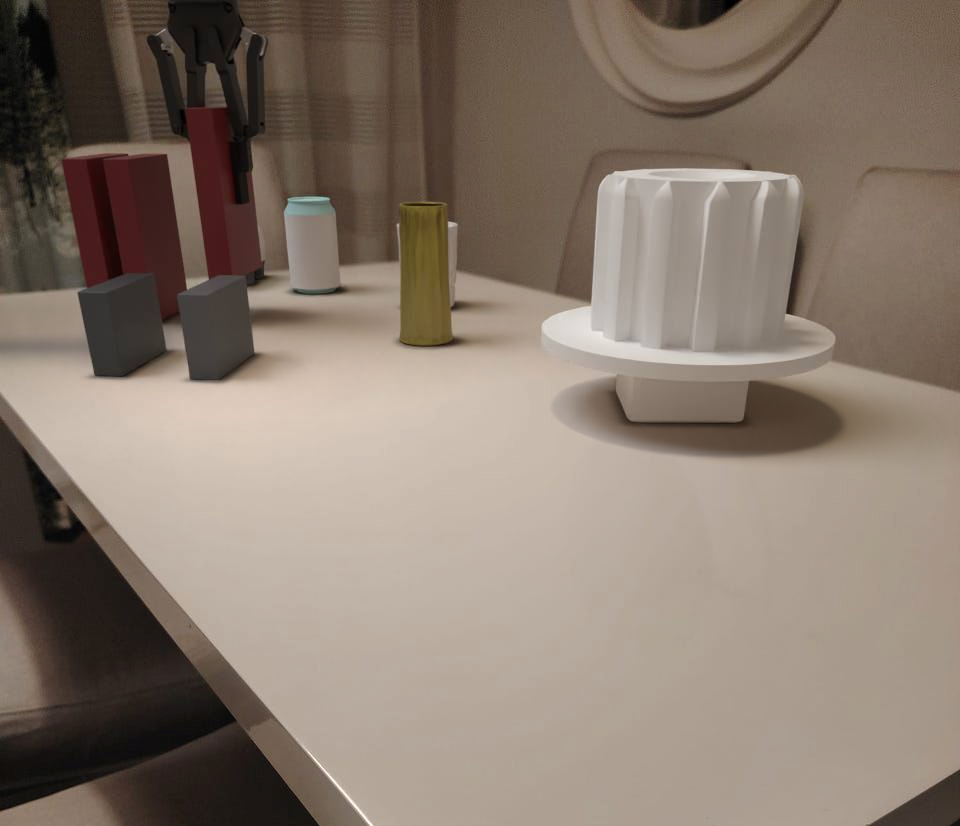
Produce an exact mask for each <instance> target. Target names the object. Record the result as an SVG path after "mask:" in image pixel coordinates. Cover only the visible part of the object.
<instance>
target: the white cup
mask: <svg viewBox="0 0 960 826" xmlns="http://www.w3.org/2000/svg"><path fill="white" fill-rule="evenodd" d="M458 236H459V224H458V223H457V222H453V221H448V260H449V291H450V306H451V308H453V306H455V304H456V287H455V286H456V283H457V267H458V239H459V238H458ZM396 237H397V249H398V259H399V260H398V261H399V264H400V235H399V223H396Z"/></svg>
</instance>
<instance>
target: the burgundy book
mask: <svg viewBox="0 0 960 826" xmlns="http://www.w3.org/2000/svg"><path fill="white" fill-rule="evenodd" d="M185 112H186V119H187V126H188V133H189V140H190V142H189V146H190V147H189V148H190V155H191V161H192V162H191V163H192V168H193V176H194V183H195V191H196V198H197V204H198V211H199V219H200V226H201V233H202V241H203V249H204V255H205V260H206V261H205V262H206V263H205V264H206V270H207V278H208V280H209V279H211V278H214V277H216V276H218V275H234V276H245V275H247V274H249V273H251V272H253V271H255V270H257V269H259V268H261V267H262V261H261V252H260V243H259V234H258V226H259V224H258V218H257V208H256V199H255V190H254V182H253V181H254V180H253V171H252V172H246V175H247V183H248V192H249V201H250V202H249V203H246V204H242V205H236V200H235V191H234V183H233V175H232V166H231V158H230V150H229V142H236V141H234V140H233V138H232V137H234V133H233V129H232V125H231V121H230V117H229V113H228V109H227V106H205V107H196V108H187V107H185ZM257 224H258V225H257Z"/></svg>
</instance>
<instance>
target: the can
mask: <svg viewBox="0 0 960 826" xmlns="http://www.w3.org/2000/svg"><path fill="white" fill-rule="evenodd" d="M336 215H337V213H336V210H335V208H334V206H333V205H332V204H331V199H330V197H326V196H297V197H289V198H287V205H286V207H285V209H284V211H283V220H284V229H285V239H286V251H287V260H288V261H287V262H288V270H289V271H288V272H289V281H290V287H291V288H292V289H294V290H296V292H298V293H300V294H309V295H311V294H313V295H316V294H318V295H319V294H327V293H328V294H329V293H333V292H335V291H336V289H337V288H339V287H340V286H341V272H340V257H339V244H338V243H339V242H338V228H337V227H338V226H337V216H336Z"/></svg>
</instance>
